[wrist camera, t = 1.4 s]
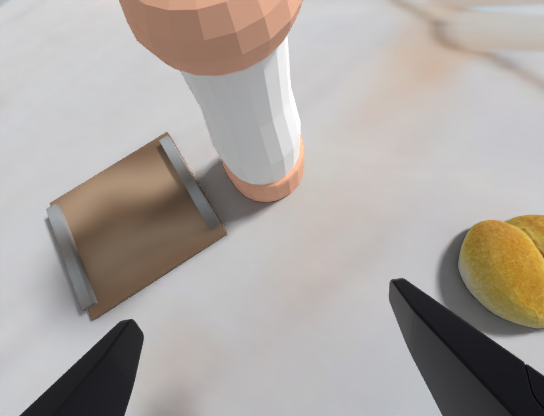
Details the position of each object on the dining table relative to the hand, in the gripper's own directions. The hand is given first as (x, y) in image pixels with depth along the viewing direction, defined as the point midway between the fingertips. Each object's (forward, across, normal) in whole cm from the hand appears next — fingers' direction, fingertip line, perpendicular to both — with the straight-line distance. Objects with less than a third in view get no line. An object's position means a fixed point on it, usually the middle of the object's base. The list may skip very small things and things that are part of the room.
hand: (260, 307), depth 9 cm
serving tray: (+16, +14, +4) cm, 21 cm away
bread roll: (+9, -19, +11) cm, 24 cm away
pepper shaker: (+18, 0, +2) cm, 18 cm away
